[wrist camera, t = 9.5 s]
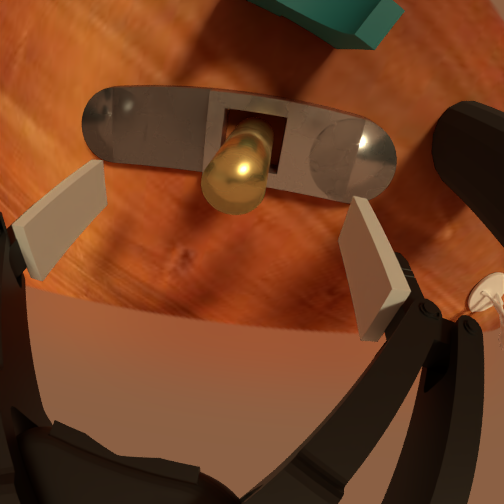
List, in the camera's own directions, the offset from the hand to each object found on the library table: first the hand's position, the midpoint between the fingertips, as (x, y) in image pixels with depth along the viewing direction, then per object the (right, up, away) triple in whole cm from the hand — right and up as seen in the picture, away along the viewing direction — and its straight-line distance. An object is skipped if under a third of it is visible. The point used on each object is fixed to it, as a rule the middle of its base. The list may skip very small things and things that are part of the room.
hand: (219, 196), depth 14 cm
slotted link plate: (-1, +8, +11) cm, 14 cm away
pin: (+2, +8, +11) cm, 14 cm away
